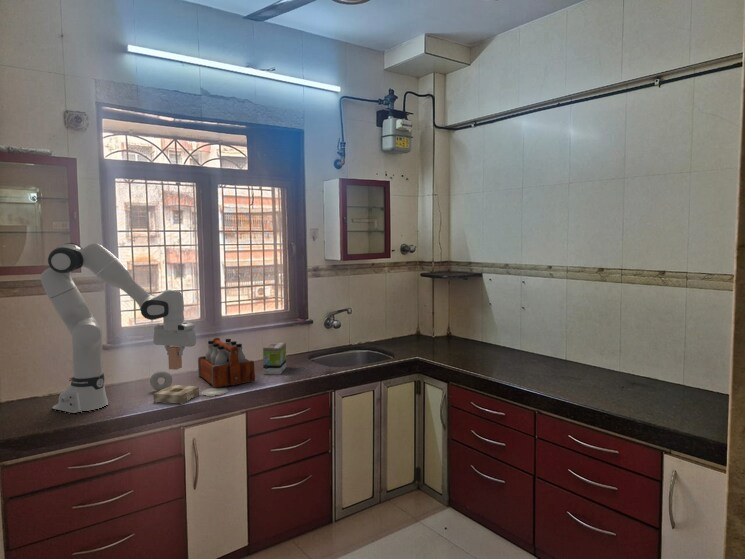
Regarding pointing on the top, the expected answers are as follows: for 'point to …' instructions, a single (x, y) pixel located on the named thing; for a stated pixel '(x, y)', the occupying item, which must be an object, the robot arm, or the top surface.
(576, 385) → the top surface
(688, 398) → the top surface
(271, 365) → the tea box
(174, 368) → the peg
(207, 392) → the coaster
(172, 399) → the holder
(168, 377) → the donut
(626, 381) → the top surface
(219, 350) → the milk bottle holder
